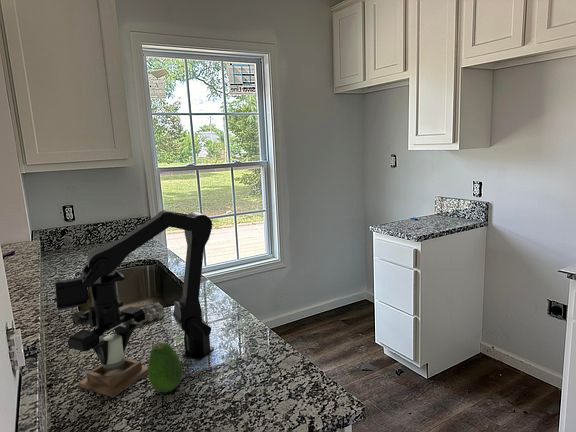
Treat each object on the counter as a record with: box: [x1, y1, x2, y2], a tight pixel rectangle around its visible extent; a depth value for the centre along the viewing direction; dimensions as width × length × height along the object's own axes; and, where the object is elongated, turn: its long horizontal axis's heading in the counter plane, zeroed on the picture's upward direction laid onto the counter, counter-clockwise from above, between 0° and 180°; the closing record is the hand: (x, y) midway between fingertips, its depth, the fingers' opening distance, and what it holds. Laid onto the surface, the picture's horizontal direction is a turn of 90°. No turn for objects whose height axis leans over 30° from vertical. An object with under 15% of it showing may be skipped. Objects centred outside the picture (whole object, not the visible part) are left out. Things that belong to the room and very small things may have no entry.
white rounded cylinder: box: [101, 333, 125, 371], centre depth 98 cm, size 5×5×7 cm
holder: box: [77, 356, 149, 398], centre depth 99 cm, size 12×12×3 cm
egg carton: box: [132, 301, 166, 325], centre depth 135 cm, size 11×8×4 cm
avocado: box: [147, 342, 184, 393], centre depth 93 cm, size 8×8×12 cm
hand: (113, 358), depth 99 cm, fingers closed on white rounded cylinder, 5 cm apart
